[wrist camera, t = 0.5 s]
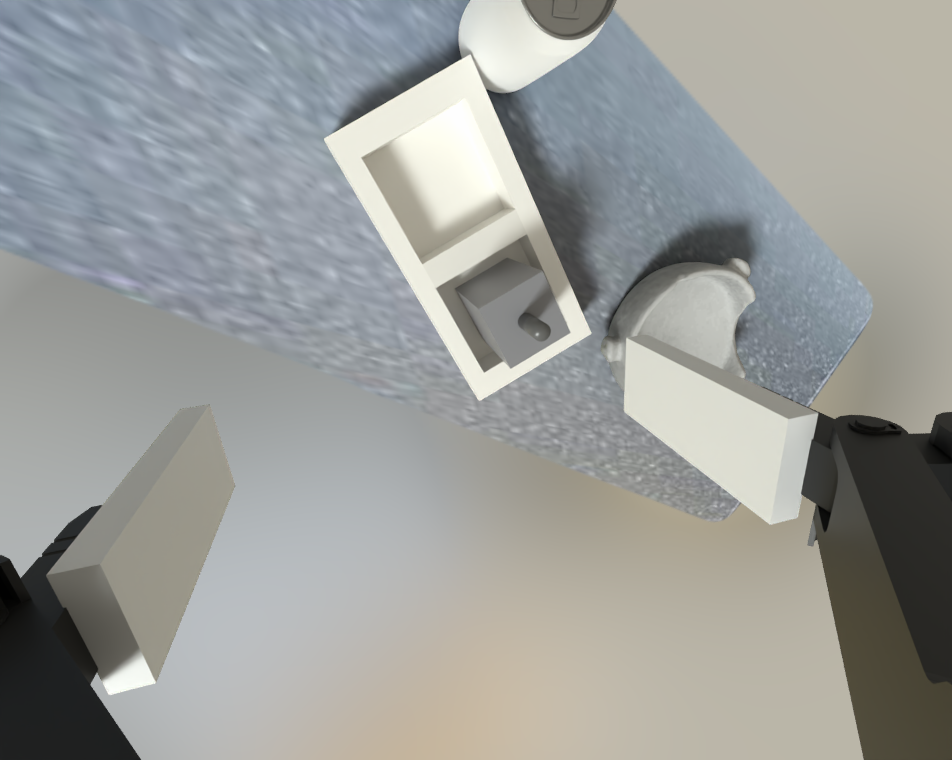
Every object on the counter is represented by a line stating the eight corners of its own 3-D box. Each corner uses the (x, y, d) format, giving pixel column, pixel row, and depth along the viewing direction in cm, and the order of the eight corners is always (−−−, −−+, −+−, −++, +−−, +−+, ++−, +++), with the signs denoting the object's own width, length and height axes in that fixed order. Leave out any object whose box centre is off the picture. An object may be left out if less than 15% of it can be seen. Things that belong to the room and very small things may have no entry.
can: (545, -8, 34) (636, -104, 23) (541, 96, 37) (622, 54, 26) (456, -17, 33) (509, -124, 22) (457, 92, 35) (505, 44, 24)
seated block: (454, 288, 39) (490, 319, 29) (507, 257, 40) (560, 277, 30) (482, 338, 41) (524, 383, 31) (532, 309, 42) (589, 344, 32)
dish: (712, 234, 44) (754, 238, 40) (737, 361, 50) (776, 378, 45) (574, 304, 43) (600, 316, 39) (616, 425, 49) (643, 448, 44)
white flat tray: (326, 144, 34) (323, 138, 31) (459, 67, 35) (470, 54, 31) (469, 386, 43) (479, 401, 40) (573, 323, 44) (591, 333, 40)
